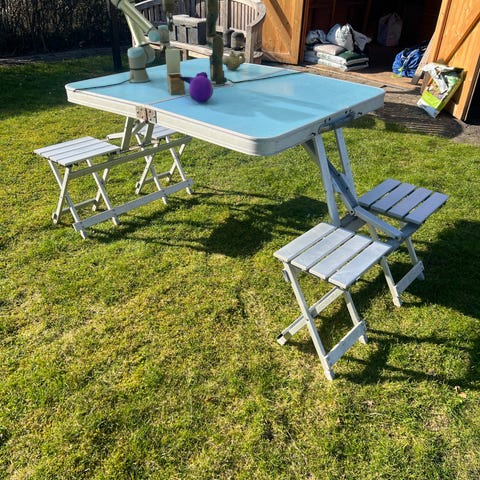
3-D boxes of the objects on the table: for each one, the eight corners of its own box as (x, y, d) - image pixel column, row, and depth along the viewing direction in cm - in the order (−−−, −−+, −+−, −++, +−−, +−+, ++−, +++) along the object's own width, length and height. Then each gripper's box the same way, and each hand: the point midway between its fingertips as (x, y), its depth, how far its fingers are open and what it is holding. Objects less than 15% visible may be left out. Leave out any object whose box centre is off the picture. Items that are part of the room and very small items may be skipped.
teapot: (225, 72, 363) (224, 52, 355) (218, 70, 371) (218, 50, 364) (248, 69, 372) (247, 50, 364) (241, 67, 381) (240, 48, 373)
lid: (179, 49, 294) (177, 42, 299) (165, 50, 292) (163, 43, 297) (180, 72, 307) (178, 66, 312) (166, 73, 305) (165, 66, 310)
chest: (185, 94, 299) (183, 77, 293) (171, 95, 297) (169, 78, 292) (181, 89, 312) (180, 73, 307) (168, 90, 310) (166, 74, 305)
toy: (201, 94, 296) (213, 108, 275) (175, 89, 289) (185, 104, 268) (206, 69, 288) (219, 82, 267) (180, 64, 281) (191, 77, 260)
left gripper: (184, 54, 331) (188, 59, 314) (150, 56, 326) (152, 61, 309) (183, 43, 328) (187, 47, 310) (149, 45, 323) (151, 49, 305)
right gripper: (175, 2, 274) (178, 31, 282) (172, 1, 286) (175, 29, 294) (163, 3, 273) (166, 32, 281) (161, 2, 285) (163, 30, 293)
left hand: (170, 54), depth 309 cm, fingers open, 13 cm apart
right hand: (170, 31), depth 288 cm, fingers open, 8 cm apart
